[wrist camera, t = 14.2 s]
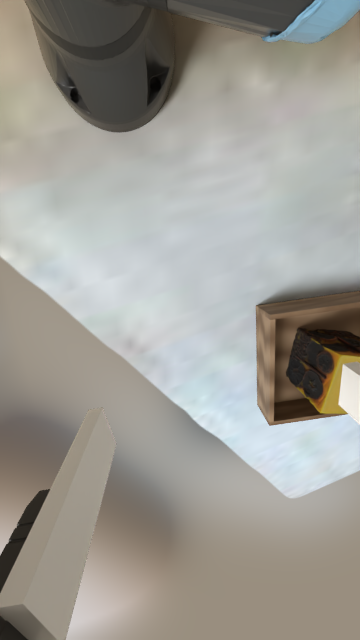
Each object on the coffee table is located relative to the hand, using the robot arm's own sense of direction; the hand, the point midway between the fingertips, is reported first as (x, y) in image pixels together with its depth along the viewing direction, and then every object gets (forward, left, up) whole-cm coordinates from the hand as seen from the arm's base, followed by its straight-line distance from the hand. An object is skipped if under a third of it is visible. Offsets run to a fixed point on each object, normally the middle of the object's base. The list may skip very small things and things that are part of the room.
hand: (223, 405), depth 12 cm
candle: (+14, +23, -25) cm, 36 cm away
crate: (+14, +23, -26) cm, 37 cm away
